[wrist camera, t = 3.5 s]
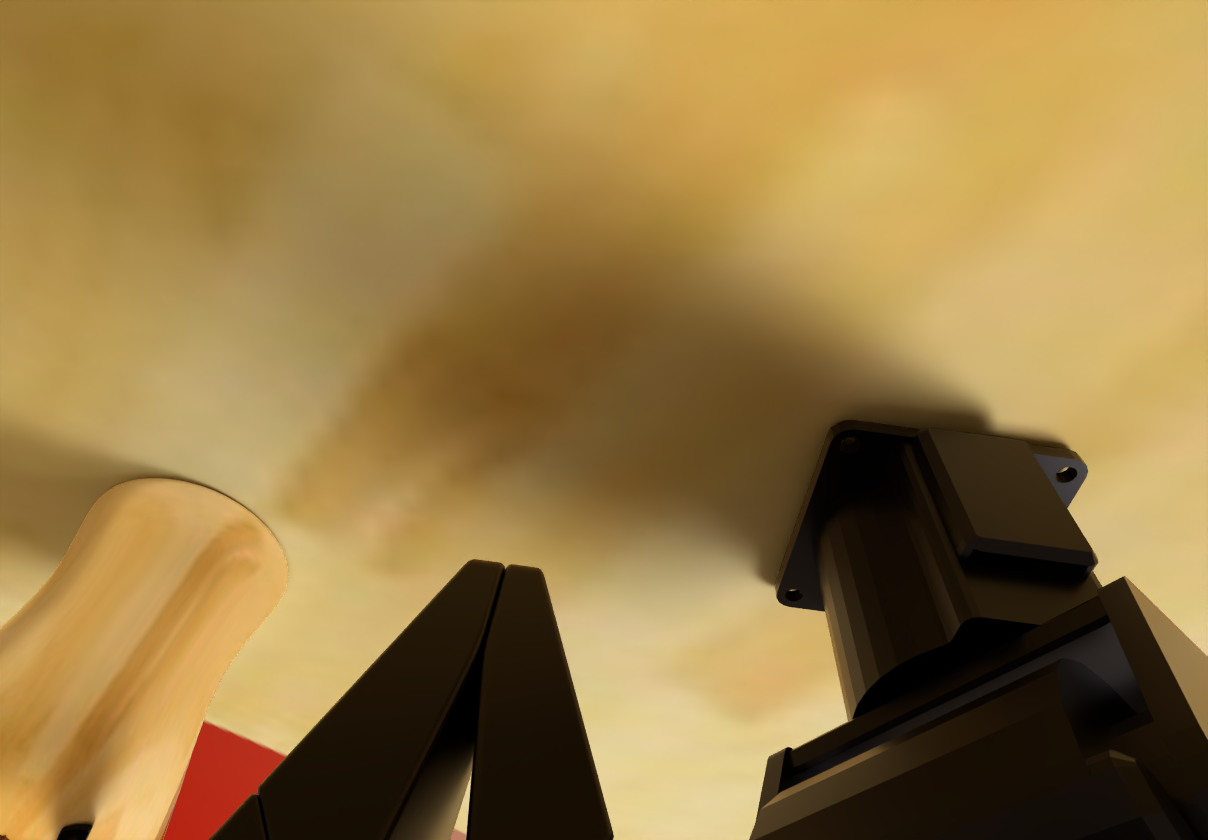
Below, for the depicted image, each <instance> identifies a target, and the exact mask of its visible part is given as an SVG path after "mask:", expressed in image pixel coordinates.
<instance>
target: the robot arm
mask: <svg viewBox="0 0 1208 840" xmlns="http://www.w3.org/2000/svg"><path fill="white" fill-rule="evenodd" d="M849 437H854V438H857V439H856V440H855V441H854V442H852V443H850V444H842V443H841V442H842V441H843V440H844V439H846V438H849ZM1065 467H1069V468H1068V469H1067V470H1066V471H1064V472H1061V473H1057V472H1058V471H1059V470H1061V469H1063V468H1065ZM1087 473H1088V469H1087V466H1086V464H1085V463H1084V461H1083V460H1082V458H1081V457H1080V456H1079V455H1078V454H1077V453H1076V452H1074V451H1071V450H1067V449H1060V448H1052V447H1045V446H1038V445H1030V444H1027V443H1026V442H1024V441H1022V440H1016V439H1009V438H1002V437H994V436H987V435H980V434H972V433H965V432H958V431H951V430H943V429H936V428H926V429H922V430H921V429H914V428H906V427H899V426H892V425H884V424H877V423H870V422H863V421H855V420H845V421H842V422H839V423H837V424H836V425H834V426H833V427H832V428H831V429H830V431H829V432H828V434H827V437H826V440H825V443H824V446H823V449H822V451H821V454H820V457H819V460H818V463H817V466H816V469H815V471H814V474H813V477H812V480H811V483H810V486H809V488H808V491H807V494H806V497H805V500H804V503H803V506H802V508H801V511H800V514H799V517H798V520H797V523H796V526H795V528H794V531H793V534H792V537H791V540H790V543H789V546H788V548H787V551H786V554H785V557H784V560H783V563H782V565H781V568H780V571H779V574H778V577H777V580H776V583H775V590H776V597H777V599H778V601H779V602H780V603H781V604H783V605H785V606H789V607H795V608H802V609H810V610H817V611H825V613H826V617H827V622H828V627H829V632H830V636H831V641H832V646H833V651H834V656H835V660H836V665H837V670H838V675H839V679H840V684H841V689H842V694H843V699H844V703H845V708H846V713H847V718H848V722H846V723H844V724H842V725H840V726H838V727H836V728H834V729H832V730H830V731H828V732H826V733H824V734H822V735H820V736H819V737H817V738H815V739H813V740H811V741H809V742H807V743H805V744H803V745H801V746H799V747H797V748H795V749H792V748H790V747H787V748H785V749H783V750H781V751H779V752H777V753H775V754H773V755H771V756H769V758H768V761H767V766H766V771H765V777H764V782H763V787H762V792H761V797H760V802H759V808H758V813H757V818H756V823H755V826H754V828H753V831H752V834H751V836H750V839H749V840H1208V656H1206V655H1205V654H1204V653H1203V652H1202V651H1201V650H1200V649H1199V648H1198V647H1197V646H1196V645H1195V644H1194V643H1193V642H1192V641H1191V640H1190V639H1189V638H1188V637H1187V636H1186V635H1185V634H1184V633H1183V632H1182V631H1181V630H1180V629H1179V628H1178V627H1177V626H1176V625H1175V624H1174V623H1173V622H1172V621H1171V620H1170V619H1169V618H1168V617H1167V616H1166V615H1165V614H1164V613H1162V612H1161V611H1160V610H1159V609H1158V608H1157V607H1156V606H1155V605H1154V604H1153V603H1152V602H1151V601H1150V600H1149V599H1148V598H1147V597H1146V596H1145V595H1144V594H1143V593H1142V592H1141V591H1140V590H1139V589H1138V588H1137V587H1136V586H1135V585H1134V584H1133V583H1132V582H1131V581H1130V580H1129V579H1128V578H1127V577H1125V576H1124V577H1122V578H1120V579H1118V580H1116V581H1114V582H1112V583H1110V584H1108V585H1106V586H1104V587H1102V585H1101V584H1100V582H1099V580H1098V579H1097V577H1096V575H1095V574H1094V572H1093V570H1094V568H1095V567H1096V565H1097V564H1098V559H1097V556H1096V554H1095V553H1094V551H1093V550H1092V548H1091V546H1090V545H1089V543H1088V541H1087V540H1086V538H1085V537H1084V535H1083V533H1082V532H1081V530H1080V529H1079V527H1078V525H1077V524H1076V522H1075V521H1074V519H1073V517H1072V516H1071V514H1070V512H1069V511H1068V509H1067V508H1068V506H1069V505H1070V503H1071V501H1072V500H1073V498H1074V496H1075V495H1076V493H1077V491H1078V490H1079V488H1080V487H1081V485H1082V483H1083V482H1084V480H1085V478H1086V476H1087ZM791 589H797V590H795V591H789V590H791ZM471 772H472V777H471V789H470V801H469V813H468V825H467V837H466V840H613V838H614V835H613V831H612V827H611V823H610V819H609V816H608V812H607V808H606V805H605V801H604V797H603V793H602V790H601V786H600V782H599V778H598V775H597V771H596V767H595V764H594V760H593V756H592V752H591V749H590V745H589V741H588V737H587V734H586V730H585V726H584V723H583V719H582V715H581V711H580V708H579V704H578V700H577V697H576V693H575V689H574V685H573V682H572V678H571V674H570V670H569V667H568V663H567V659H566V656H565V652H564V648H563V644H562V641H561V637H560V633H559V629H558V626H557V622H556V618H555V615H554V611H553V607H552V603H551V600H550V596H549V592H548V588H547V585H546V581H545V577H544V574H543V572H542V571H541V569H539V568H535V567H528V566H520V565H509V566H508V567H507V568H506V569H505V566H504V565H503V564H502V563H499V562H491V561H484V560H477V559H473V560H470V561H468V562H467V563H466V564H465V565H464V566H463V567H462V568H461V569H460V570H459V571H458V572H457V573H456V575H455V576H454V577H453V578H452V579H451V580H450V581H449V582H448V583H447V584H446V585H445V586H444V587H443V589H442V590H441V591H440V592H439V593H438V594H437V595H436V596H435V597H434V598H433V599H432V600H431V601H430V603H429V604H428V605H427V606H426V607H425V608H424V609H423V610H422V611H421V612H420V613H419V614H418V615H417V617H416V618H415V619H414V620H413V621H412V622H411V623H410V624H409V625H408V626H407V627H406V628H405V629H404V631H403V632H402V633H401V634H400V635H399V636H398V637H397V638H396V639H395V640H394V641H393V642H392V643H391V645H390V646H389V647H388V648H387V649H386V650H385V651H384V652H383V653H382V654H381V655H380V656H379V657H378V659H377V660H376V661H375V662H374V663H373V664H372V665H371V666H370V667H369V668H368V669H367V670H366V671H365V673H364V674H363V675H362V676H361V677H360V678H359V679H358V680H357V681H356V682H355V683H354V684H353V685H352V687H351V688H350V689H349V690H348V691H347V692H346V693H345V694H344V695H343V696H342V697H341V698H340V699H339V701H338V702H337V703H336V704H335V705H334V706H333V707H332V708H331V709H330V710H329V711H328V712H327V714H326V715H325V716H324V717H323V718H322V719H321V720H320V721H319V722H318V723H317V724H316V725H315V726H314V728H313V729H312V730H311V731H310V732H309V733H308V734H307V735H306V736H305V737H304V738H303V739H302V740H301V742H300V743H299V744H298V745H297V746H296V747H295V748H294V749H293V750H292V751H291V752H290V753H289V754H288V756H287V757H286V758H285V759H284V760H283V761H282V762H281V763H280V764H279V766H277V768H275V770H274V771H273V772H272V773H271V774H270V775H269V776H268V777H267V778H266V779H265V780H264V781H263V782H262V784H261V785H260V786H259V787H258V795H257V794H251V795H250V796H249V797H248V798H247V799H246V800H245V801H244V802H243V804H242V805H241V806H240V807H239V808H238V809H237V810H236V811H235V812H234V813H233V814H232V815H231V817H230V818H229V819H228V820H227V821H226V822H225V823H224V824H223V825H222V826H221V827H220V828H219V830H217V831H216V832H215V833H214V834H213V836H212V837H211V838H210V839H209V840H450V839H451V836H452V832H453V829H454V826H455V823H456V820H457V817H458V813H459V810H460V807H461V804H462V801H463V798H464V795H465V791H466V788H467V785H468V782H469V779H470V775H471ZM258 796H259V797H258Z"/></svg>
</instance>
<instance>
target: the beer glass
mask: <svg viewBox="0 0 1208 840" xmlns="http://www.w3.org/2000/svg"><path fill="white" fill-rule="evenodd" d="M287 583H288V565H287V561H286V558H285V555H284V552H283V550H282V548H281V546H280V544H279V543H278V541H277V540H276V538H275V537H274V535H273V534H272V533H271V531H270V530H269V529H268V528H267V527H266V526H265V525H264V523H263V522H262V521H260V520H259V519H258V518H257V517H256V516H255V515H254V514H253V513H251V512H250V511H249V510H247V509H246V508H245V507H243V506H242V505H240V504H239V503H237V502H235V501H234V500H232V499H230V498H228V497H227V496H225V495H223V494H220V493H218V492H216V491H214V490H211V489H209V488H206V487H203V486H200V485H197V484H194V483H190V482H186V481H181V480H175V479H166V478H143V479H136V480H131V481H127V482H124V483H121V484H119V485H117V486H115V487H113V488H111V489H110V490H108V491H107V492H106V493H104V494H103V495H102V496H101V497H100V498H99V499H98V500H97V501H96V502H95V504H94V505H93V506H92V508H91V509H90V511H89V512H88V514H87V516H86V517H85V519H84V521H83V523H82V525H81V526H80V528H79V530H78V532H77V534H76V536H75V538H74V539H73V541H72V543H71V545H70V547H69V548H68V550H67V552H66V554H65V555H64V557H63V559H62V560H61V562H60V563H59V565H58V566H57V568H56V569H55V571H54V572H53V573H52V575H51V576H50V577H49V578H48V579H47V581H46V582H45V583H44V584H43V586H42V587H41V588H40V589H39V590H38V592H37V593H36V594H35V595H34V596H33V597H32V598H31V599H30V600H29V601H28V602H27V603H26V604H25V605H24V606H23V607H22V608H21V609H20V610H19V611H18V612H17V613H16V614H15V615H14V616H13V617H12V618H10V619H9V620H8V621H7V622H6V623H4V624H3V625H2V626H1V627H0V840H163V838H164V835H165V832H166V830H167V827H168V824H169V820H170V818H171V815H172V812H173V809H174V806H175V803H176V800H177V797H178V794H179V791H180V788H181V785H182V782H183V779H184V776H185V773H186V770H187V767H188V764H189V761H190V758H191V755H192V752H193V749H194V746H195V743H196V740H197V737H198V735H199V732H200V729H201V726H202V723H203V721H204V718H205V715H206V712H207V710H208V707H209V705H210V703H211V701H212V699H213V698H215V697H214V694H215V692H216V690H217V688H218V686H219V684H220V682H221V680H222V678H223V676H224V675H225V673H226V671H227V670H228V668H229V666H230V665H231V663H232V661H233V660H234V658H235V657H236V656H237V654H238V653H239V651H240V650H241V649H242V647H243V646H244V645H245V643H246V642H247V641H248V640H249V639H250V637H251V636H252V635H253V634H254V633H255V631H256V630H257V629H258V628H259V627H260V626H261V624H262V623H263V622H264V621H265V620H266V618H267V617H268V616H269V615H270V614H271V613H272V611H273V610H274V609H275V608H276V606H277V605H278V604H279V602H280V600H281V599H282V597H283V595H284V593H285V591H286V587H287Z"/></svg>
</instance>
